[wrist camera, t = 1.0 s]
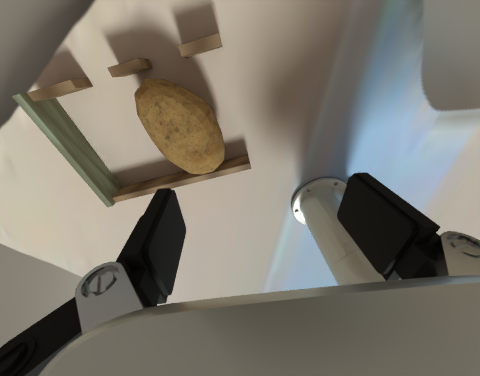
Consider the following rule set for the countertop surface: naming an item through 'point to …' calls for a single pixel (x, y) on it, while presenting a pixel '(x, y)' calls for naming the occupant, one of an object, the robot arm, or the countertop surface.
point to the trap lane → (80, 151)
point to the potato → (180, 125)
